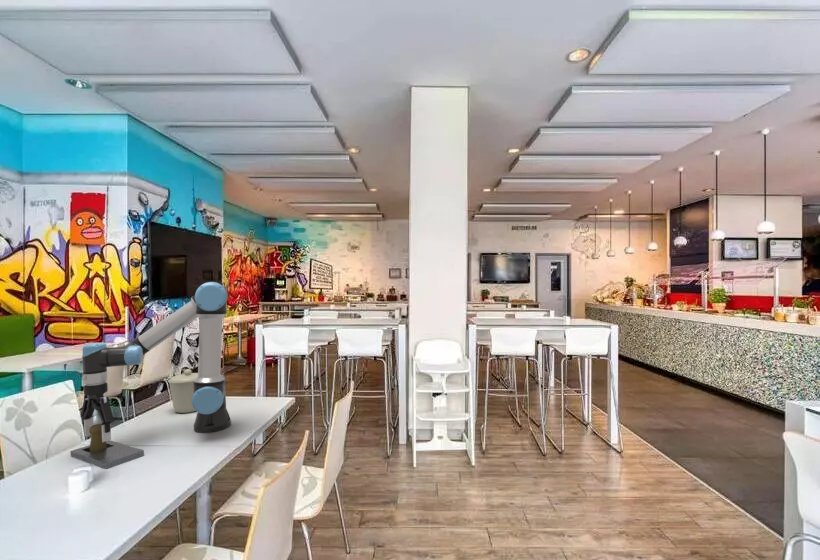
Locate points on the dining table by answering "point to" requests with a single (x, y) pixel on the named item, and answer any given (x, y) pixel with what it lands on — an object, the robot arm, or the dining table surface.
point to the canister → (183, 391)
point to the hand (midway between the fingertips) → (97, 438)
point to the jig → (108, 454)
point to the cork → (96, 439)
